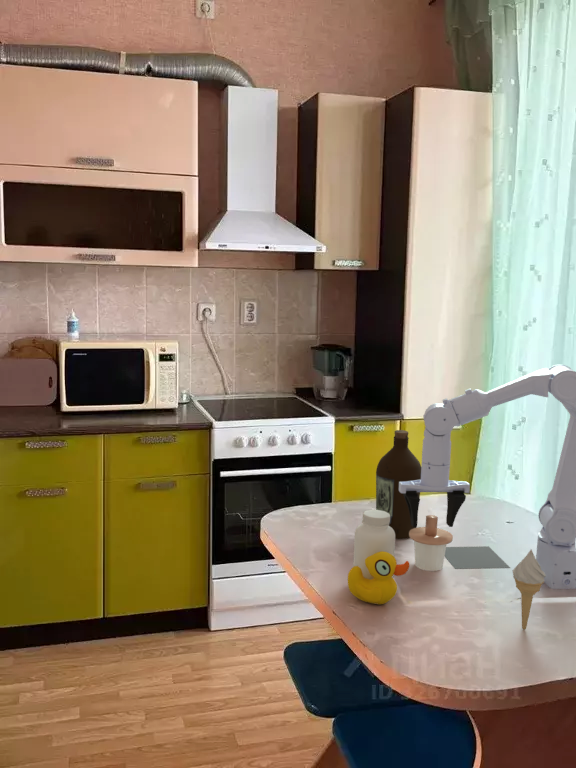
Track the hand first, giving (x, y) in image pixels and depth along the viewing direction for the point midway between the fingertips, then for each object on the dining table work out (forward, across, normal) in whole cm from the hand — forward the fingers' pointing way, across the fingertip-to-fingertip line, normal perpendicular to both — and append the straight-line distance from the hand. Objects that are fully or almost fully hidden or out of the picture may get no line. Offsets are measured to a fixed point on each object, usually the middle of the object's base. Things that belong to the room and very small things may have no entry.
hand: (431, 525), depth 157 cm
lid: (+3, 0, 0) cm, 3 cm away
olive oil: (+10, +2, -20) cm, 22 cm away
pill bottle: (+10, +14, +8) cm, 19 cm away
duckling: (+10, +15, +15) cm, 23 cm away
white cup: (+10, 0, 0) cm, 10 cm away
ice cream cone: (+10, -9, +27) cm, 30 cm away
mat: (+10, -11, -4) cm, 15 cm away
